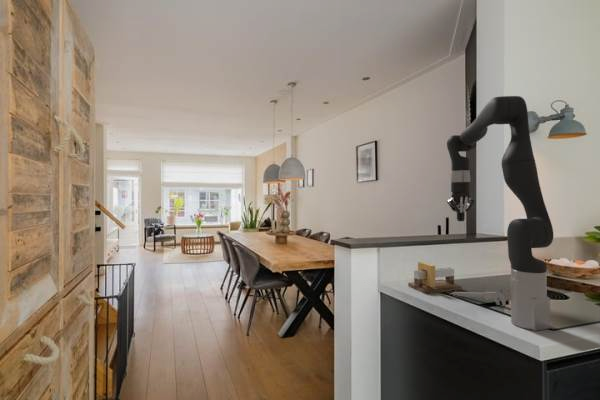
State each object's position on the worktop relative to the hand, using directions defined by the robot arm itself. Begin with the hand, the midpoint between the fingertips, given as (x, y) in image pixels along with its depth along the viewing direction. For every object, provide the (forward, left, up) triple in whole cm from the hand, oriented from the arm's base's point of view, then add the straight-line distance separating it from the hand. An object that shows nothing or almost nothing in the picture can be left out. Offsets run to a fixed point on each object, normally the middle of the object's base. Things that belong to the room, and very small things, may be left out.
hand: (460, 221), depth 145 cm
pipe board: (+3, +12, -29) cm, 31 cm away
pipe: (+3, +12, -24) cm, 27 cm away
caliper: (-16, +7, -30) cm, 34 cm away
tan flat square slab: (+3, +15, -27) cm, 31 cm away
